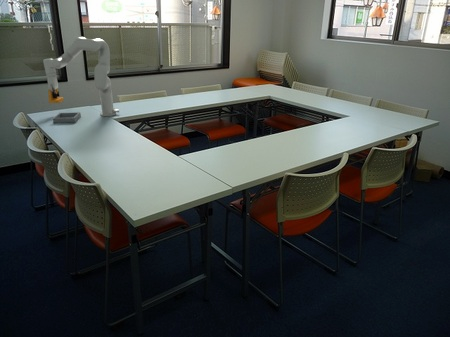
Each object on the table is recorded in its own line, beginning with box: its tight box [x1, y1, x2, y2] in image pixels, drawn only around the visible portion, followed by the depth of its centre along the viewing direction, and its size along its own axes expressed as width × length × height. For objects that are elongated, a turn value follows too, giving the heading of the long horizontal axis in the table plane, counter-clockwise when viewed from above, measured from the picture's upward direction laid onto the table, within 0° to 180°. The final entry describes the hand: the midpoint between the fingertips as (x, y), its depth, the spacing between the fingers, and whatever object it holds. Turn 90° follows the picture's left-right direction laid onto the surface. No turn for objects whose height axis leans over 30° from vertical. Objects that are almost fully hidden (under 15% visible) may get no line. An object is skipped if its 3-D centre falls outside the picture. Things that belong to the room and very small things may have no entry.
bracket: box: [48, 89, 65, 104], centre depth 295 cm, size 11×7×12 cm, turn 176°
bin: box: [52, 111, 82, 124], centre depth 286 cm, size 16×16×4 cm
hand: (56, 97), depth 295 cm, fingers closed on bracket, 5 cm apart
